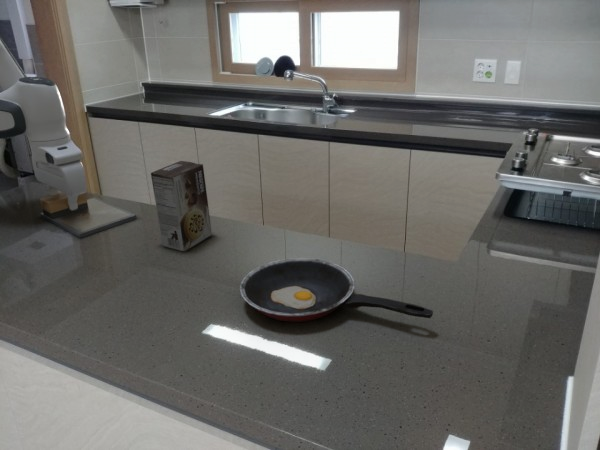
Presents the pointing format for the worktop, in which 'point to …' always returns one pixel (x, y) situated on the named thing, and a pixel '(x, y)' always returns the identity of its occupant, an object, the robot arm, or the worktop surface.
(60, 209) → the eraser
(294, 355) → the worktop surface
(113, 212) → the whiteboard
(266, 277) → the frying pan
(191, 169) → the coffee box
